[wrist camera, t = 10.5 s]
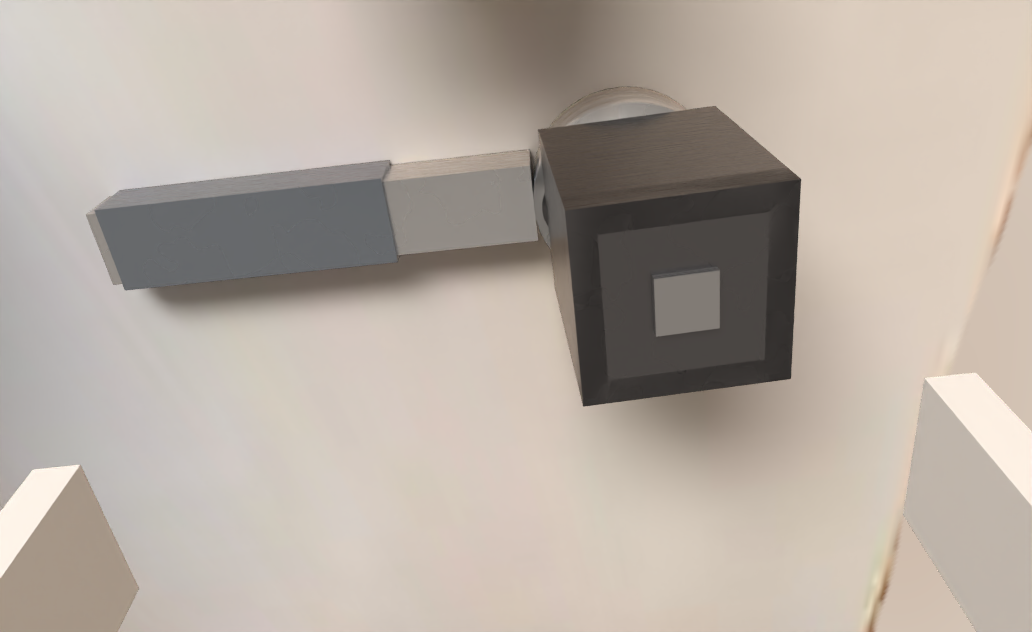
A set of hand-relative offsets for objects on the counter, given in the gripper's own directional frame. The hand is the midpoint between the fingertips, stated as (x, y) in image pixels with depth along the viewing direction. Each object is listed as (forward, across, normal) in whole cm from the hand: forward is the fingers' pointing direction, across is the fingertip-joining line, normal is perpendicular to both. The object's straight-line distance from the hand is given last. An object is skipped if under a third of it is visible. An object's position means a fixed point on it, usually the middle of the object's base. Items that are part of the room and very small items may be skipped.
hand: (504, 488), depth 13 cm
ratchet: (+21, -4, -3) cm, 21 cm away
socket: (+18, +4, -2) cm, 19 cm away
